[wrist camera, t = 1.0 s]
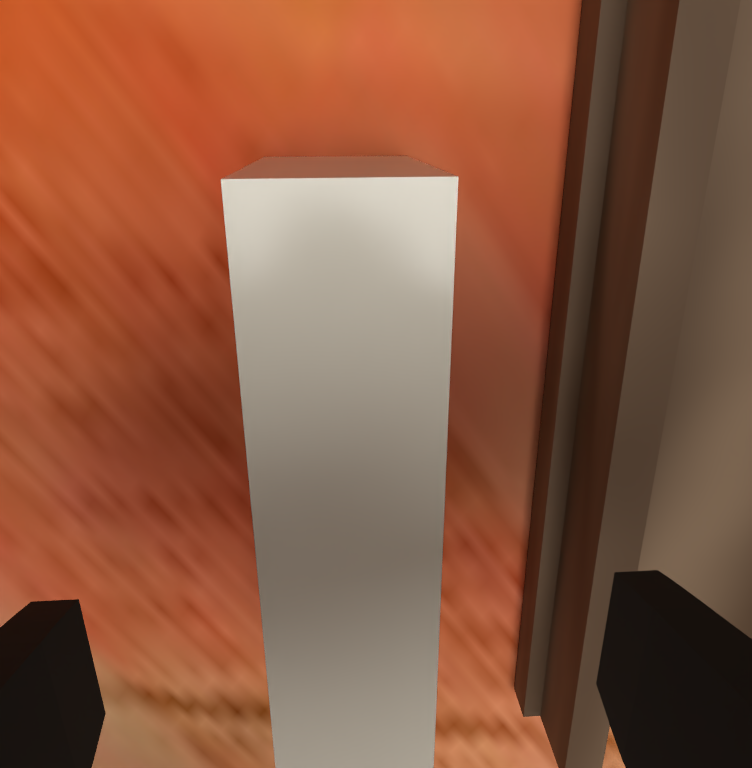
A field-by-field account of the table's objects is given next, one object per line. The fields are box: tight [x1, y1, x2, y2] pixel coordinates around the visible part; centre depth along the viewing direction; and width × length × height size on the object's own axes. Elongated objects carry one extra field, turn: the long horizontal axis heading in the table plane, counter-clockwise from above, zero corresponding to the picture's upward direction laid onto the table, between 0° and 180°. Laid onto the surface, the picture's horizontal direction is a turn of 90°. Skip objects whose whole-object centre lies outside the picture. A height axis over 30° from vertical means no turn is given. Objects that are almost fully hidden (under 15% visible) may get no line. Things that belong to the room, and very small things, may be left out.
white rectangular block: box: [221, 156, 458, 768], centre depth 13 cm, size 3×12×6 cm, turn 0°
